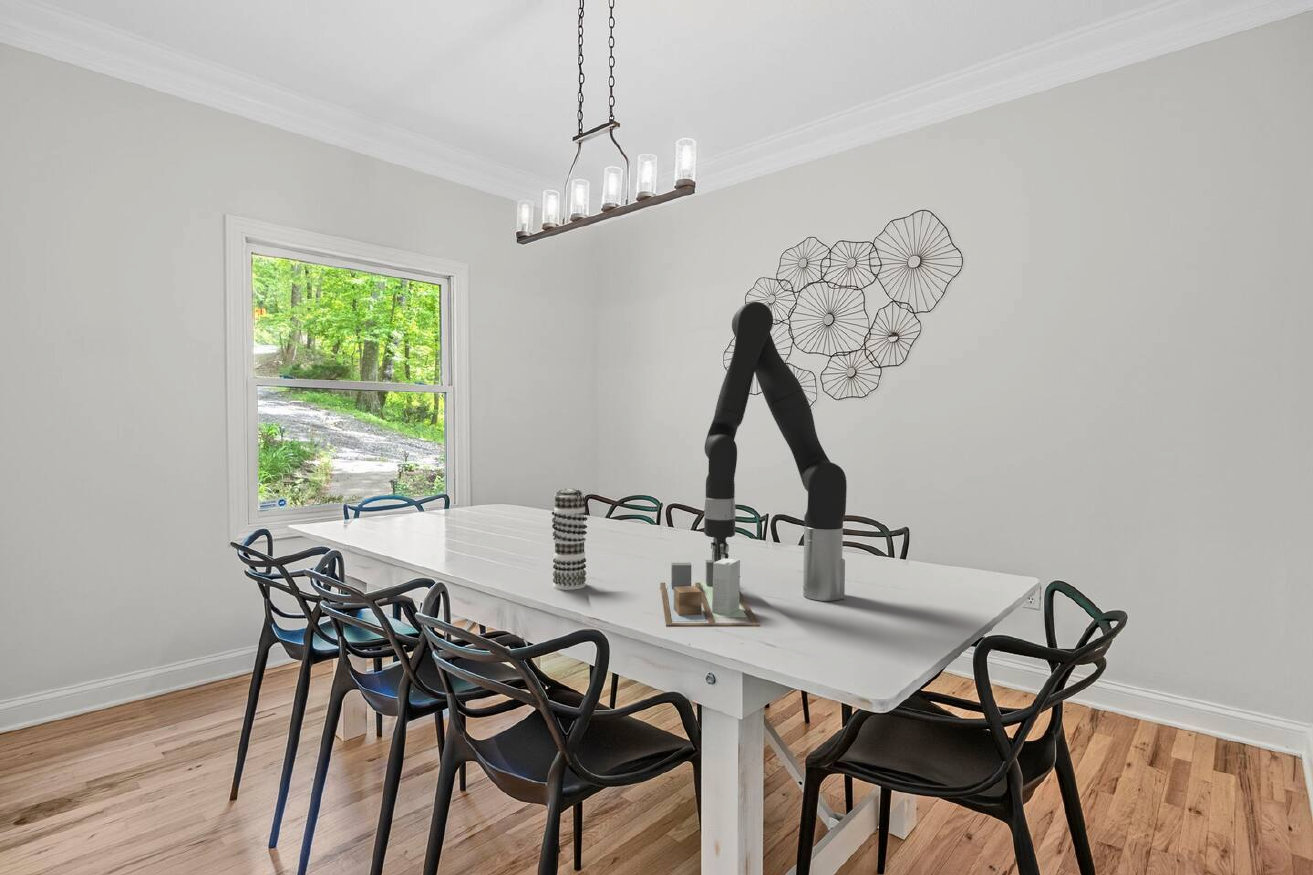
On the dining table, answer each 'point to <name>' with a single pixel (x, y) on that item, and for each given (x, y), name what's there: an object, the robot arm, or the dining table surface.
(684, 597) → the walnut cube
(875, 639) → the dining table surface
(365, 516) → the dining table surface
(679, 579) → the strip
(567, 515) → the decorative candle
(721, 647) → the dining table surface
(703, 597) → the lane rails
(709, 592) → the strip
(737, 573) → the skincare box
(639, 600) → the dining table surface
